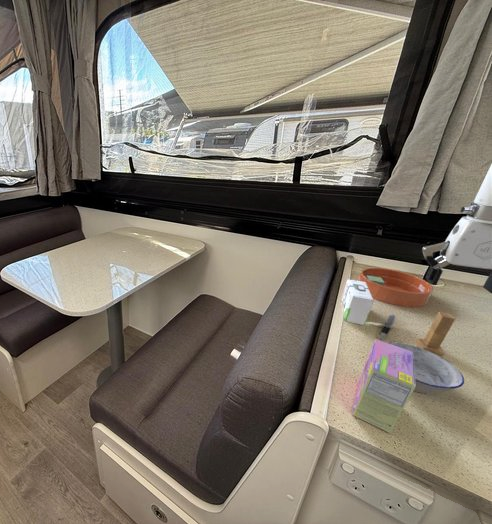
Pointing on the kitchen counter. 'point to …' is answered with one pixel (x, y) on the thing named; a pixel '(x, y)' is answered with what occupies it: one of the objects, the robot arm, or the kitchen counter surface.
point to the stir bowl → (397, 287)
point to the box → (385, 385)
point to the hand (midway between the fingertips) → (459, 286)
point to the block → (376, 280)
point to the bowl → (432, 371)
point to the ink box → (356, 302)
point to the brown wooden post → (437, 333)
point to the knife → (386, 327)
